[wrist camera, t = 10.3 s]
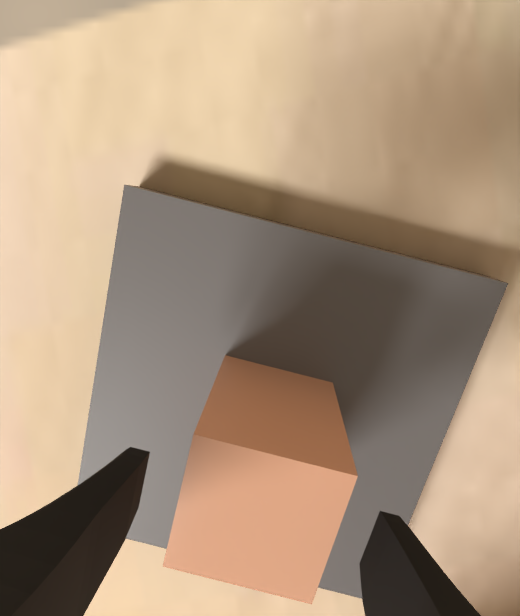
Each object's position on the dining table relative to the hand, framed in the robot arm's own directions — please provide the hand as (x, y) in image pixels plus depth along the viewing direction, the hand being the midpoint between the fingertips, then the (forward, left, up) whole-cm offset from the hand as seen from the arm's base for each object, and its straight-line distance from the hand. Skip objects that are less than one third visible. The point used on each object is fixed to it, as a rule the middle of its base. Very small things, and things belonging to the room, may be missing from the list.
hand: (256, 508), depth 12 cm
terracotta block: (0, 0, -5) cm, 5 cm away
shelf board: (0, 0, -7) cm, 7 cm away
